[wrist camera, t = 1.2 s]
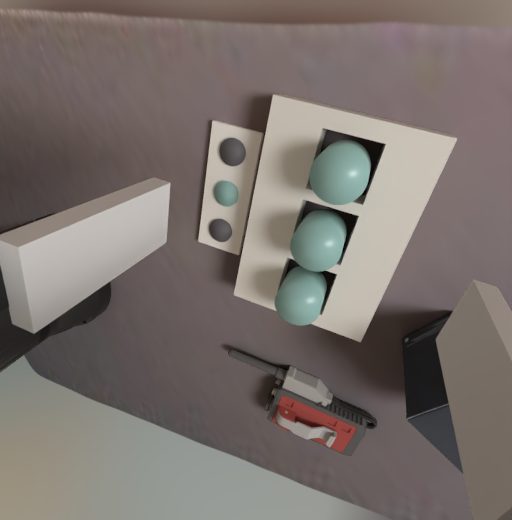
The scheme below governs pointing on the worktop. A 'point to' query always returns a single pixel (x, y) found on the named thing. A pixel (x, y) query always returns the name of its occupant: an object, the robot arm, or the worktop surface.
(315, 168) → the button
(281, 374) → the walkie-talkie
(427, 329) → the small box
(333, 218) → the button
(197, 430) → the worktop surface
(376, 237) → the board
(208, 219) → the pattern card
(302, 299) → the button
